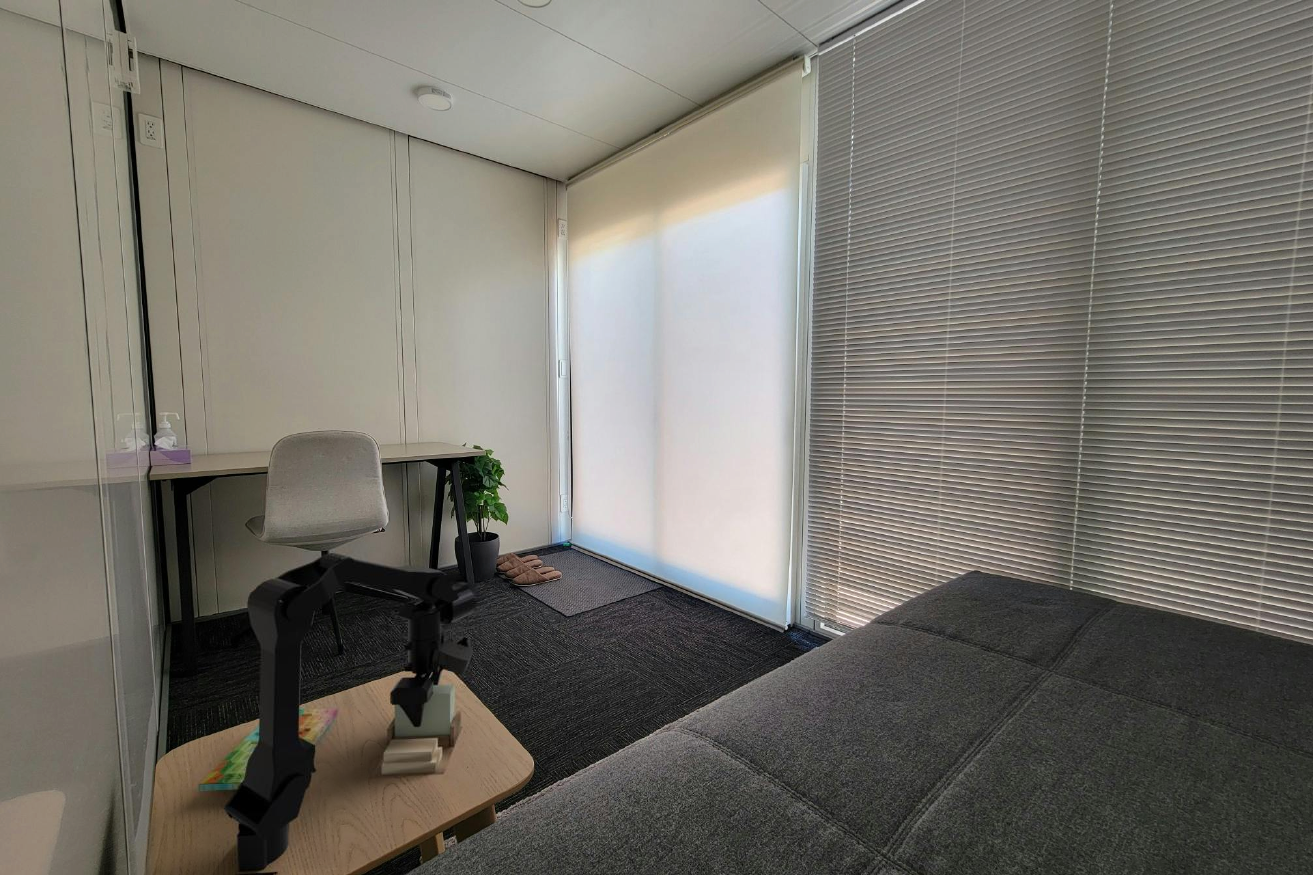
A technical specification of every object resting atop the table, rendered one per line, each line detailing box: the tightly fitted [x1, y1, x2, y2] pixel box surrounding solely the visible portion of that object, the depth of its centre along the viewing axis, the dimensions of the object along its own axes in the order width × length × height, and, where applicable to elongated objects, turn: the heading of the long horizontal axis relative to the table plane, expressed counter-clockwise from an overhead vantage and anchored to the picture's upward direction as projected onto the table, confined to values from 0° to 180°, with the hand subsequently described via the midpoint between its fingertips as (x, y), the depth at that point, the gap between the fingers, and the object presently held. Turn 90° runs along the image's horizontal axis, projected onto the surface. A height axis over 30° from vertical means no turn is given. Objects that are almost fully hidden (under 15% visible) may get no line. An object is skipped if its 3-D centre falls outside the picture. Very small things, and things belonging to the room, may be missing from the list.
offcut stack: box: [382, 738, 442, 775], centre depth 94 cm, size 4×9×4 cm, turn 97°
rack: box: [371, 710, 463, 778], centre depth 98 cm, size 13×12×5 cm
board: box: [394, 684, 455, 737], centre depth 100 cm, size 3×10×10 cm, turn 97°
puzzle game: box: [198, 708, 339, 792], centre depth 95 cm, size 12×5×20 cm
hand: (425, 712), depth 100 cm, fingers open, 8 cm apart
